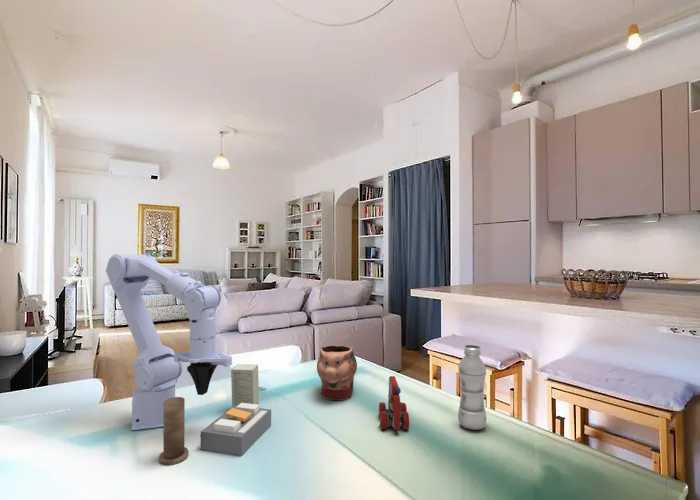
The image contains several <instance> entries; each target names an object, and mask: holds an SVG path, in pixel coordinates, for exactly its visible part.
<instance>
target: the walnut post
mask: <svg viewBox="0 0 700 500" xmlns="http://www.w3.org/2000/svg"><path fill="white" fill-rule="evenodd" d="M185 402H186V401H185V398H184V397H182V396H175V397H173V398H169V399H167V400H165V401H164V415H163V427H162V428H163V429H162V430H163V431H162V432H163V433H162V434H163V437H162V438H163V443H162V445H163V446H162V447H163V450H162V452H161V453H160V454H159V456H158V462H159V464H161V466H162V465H163V466H175V465H178V464H181V463H182V462H184V461H186V460H187V459H188V457H189V456H190V455H189V449H188V447H185V417H186V416H185V413H186V412H185V407H186V406H185V405H186V404H185Z"/></svg>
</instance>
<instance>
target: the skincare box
mask: <svg viewBox="0 0 700 500" xmlns="http://www.w3.org/2000/svg"><path fill="white" fill-rule="evenodd" d="M230 374H231V375H230V376H231V378H230V379H231V380H230V381H231V408H232V407H234V406H235V405H239V404H241V403H249V404H257V405H260V391H259V386H260V385H259V383H260V382H259V364H248V363H247V364H245V363H244V364H243V363H242V364H239V363H238V364H236V365H234V366H233V367H232V368H231V369H230Z"/></svg>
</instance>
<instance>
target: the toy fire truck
mask: <svg viewBox="0 0 700 500" xmlns="http://www.w3.org/2000/svg"><path fill="white" fill-rule="evenodd" d="M401 392H402V391H401V388H400V386H399V384H398V381H397V379H396V376H395V375H394V376H393V375H391V376H389V377H388V395H387V399H388V401H387V402H388V403H387V407H388V408H387V407H386V402H384V401H383V402H379V403H378V417H379V418H378V419H379V428H380V430H387V429H388V427H391V426H392V427H393V430H400V429H402V430H409V428H410V415H409V411H407V404H406V403H405V402H401V395H400V394H401Z"/></svg>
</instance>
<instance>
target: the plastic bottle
mask: <svg viewBox="0 0 700 500" xmlns="http://www.w3.org/2000/svg"><path fill="white" fill-rule="evenodd" d="M463 350H464V351H463V354H464V356H463V357H462V359H461V360H460V361H459V363H458V367H457V368H458V376H459V383H460V384H459V386H460V396H459V397H460V398H459V407H458V414H457V417H458V422H459V423H460V425H461V426H462V427H463V428H465V429H467V430H471V431H472V430H473V431H481V430H483V429H484V428H485V426H486V425H487V412H486V409H485V398H484V393H485V392H484V390H485V381H486V376H487V375H486V373H487V367H486V365H485V363H484V361H483V359H481V358H482V357H480V356H481V346H479V345H475V344H466V345H464V349H463Z"/></svg>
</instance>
